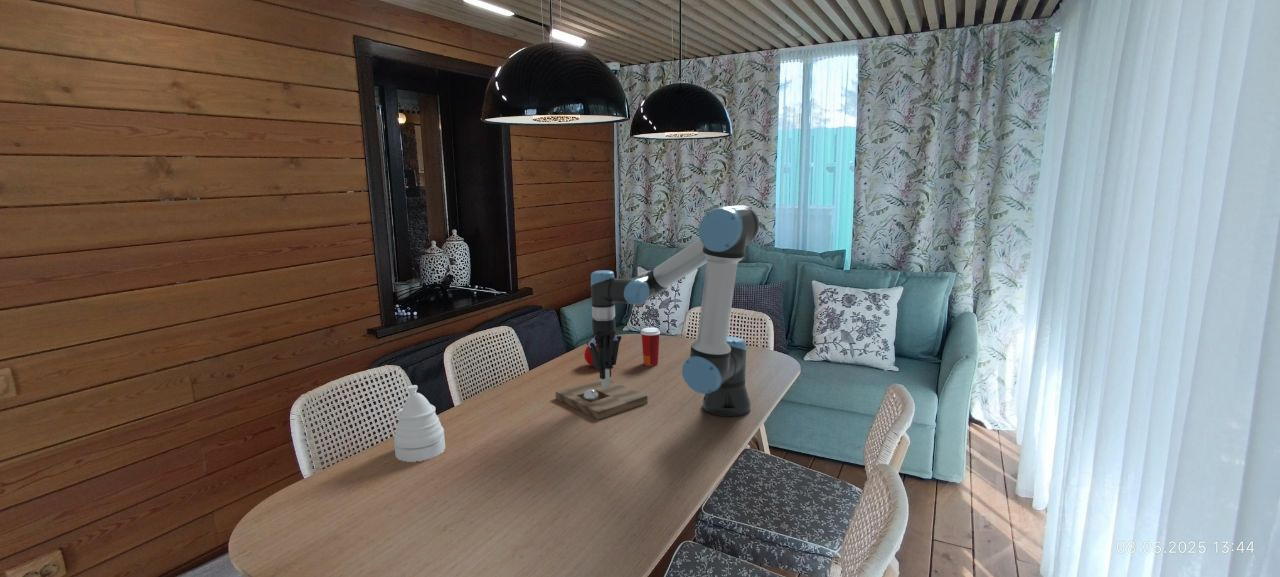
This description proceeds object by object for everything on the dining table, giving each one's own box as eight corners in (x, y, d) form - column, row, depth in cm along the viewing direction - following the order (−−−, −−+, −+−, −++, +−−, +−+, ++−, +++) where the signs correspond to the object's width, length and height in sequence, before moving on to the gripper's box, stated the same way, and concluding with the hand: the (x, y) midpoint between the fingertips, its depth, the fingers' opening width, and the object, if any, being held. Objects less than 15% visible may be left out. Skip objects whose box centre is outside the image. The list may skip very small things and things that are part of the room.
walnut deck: (647, 403, 192) (647, 395, 192) (598, 419, 180) (598, 412, 179) (603, 384, 210) (603, 377, 210) (555, 398, 198) (555, 391, 197)
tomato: (593, 360, 238) (592, 336, 236) (616, 364, 233) (615, 339, 231) (579, 368, 229) (578, 343, 227) (603, 371, 224) (602, 346, 222)
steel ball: (587, 405, 188) (597, 408, 192) (593, 391, 188) (604, 394, 192) (578, 399, 192) (588, 402, 195) (584, 385, 192) (594, 388, 196)
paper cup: (661, 360, 236) (660, 327, 233) (659, 367, 229) (659, 332, 226) (641, 360, 237) (641, 327, 234) (639, 366, 229) (639, 332, 227)
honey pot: (388, 450, 162) (382, 388, 159) (434, 436, 170) (429, 377, 167) (404, 467, 152) (398, 401, 149) (452, 451, 160) (447, 389, 157)
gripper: (612, 313, 198) (614, 379, 202) (580, 319, 190) (583, 389, 194) (626, 316, 192) (628, 385, 197) (594, 323, 184) (596, 395, 188)
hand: (605, 387), depth 195 cm, fingers closed
